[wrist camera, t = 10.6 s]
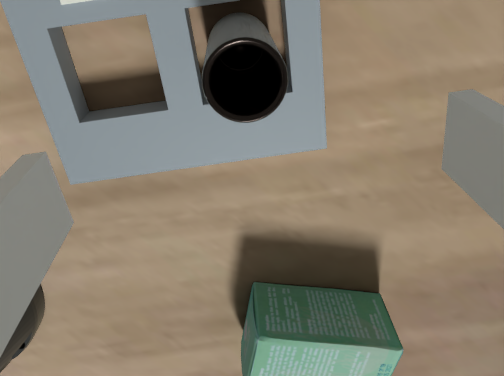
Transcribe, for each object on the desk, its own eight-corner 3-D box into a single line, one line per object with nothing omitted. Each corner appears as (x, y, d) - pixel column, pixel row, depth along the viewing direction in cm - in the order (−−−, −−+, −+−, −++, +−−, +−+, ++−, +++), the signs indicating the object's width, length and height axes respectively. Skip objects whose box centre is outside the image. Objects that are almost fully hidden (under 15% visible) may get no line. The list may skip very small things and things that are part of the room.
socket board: (80, 170, 35) (69, 185, 33) (0, -50, 28) (-21, -50, 25) (320, 136, 35) (327, 149, 33) (307, -96, 27) (315, -100, 25)
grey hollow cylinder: (276, 67, 32) (296, 112, 23) (218, 82, 33) (215, 132, 24) (262, 4, 30) (278, 26, 21) (200, 21, 30) (189, 50, 21)
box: (249, 279, 42) (254, 340, 36) (380, 289, 44) (407, 349, 37) (239, 332, 46) (241, 396, 39) (360, 339, 47) (382, 402, 41)
